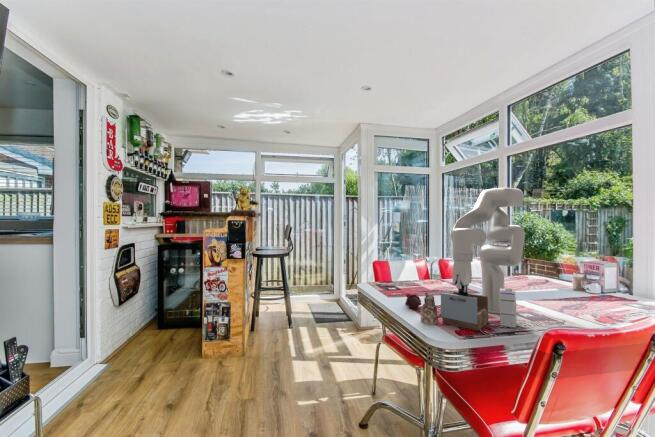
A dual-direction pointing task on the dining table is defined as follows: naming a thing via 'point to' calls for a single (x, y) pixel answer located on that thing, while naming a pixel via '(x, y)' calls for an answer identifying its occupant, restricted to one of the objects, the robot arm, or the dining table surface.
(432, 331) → the dining table surface
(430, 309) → the figurine
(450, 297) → the panel
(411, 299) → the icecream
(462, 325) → the brown wooden box
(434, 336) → the dining table surface
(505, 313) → the syrup box
